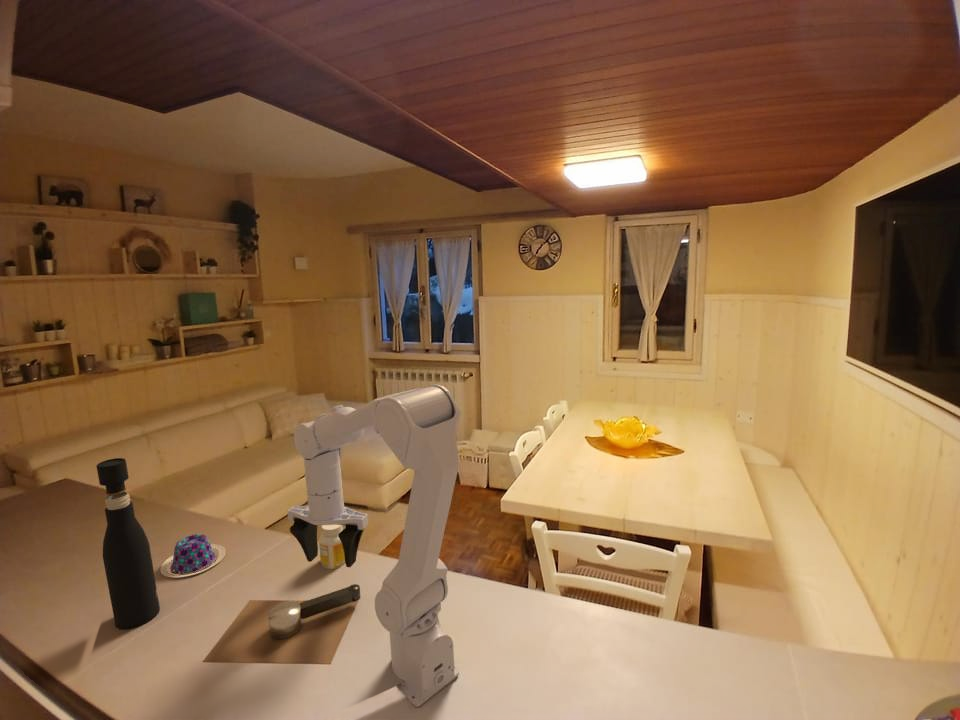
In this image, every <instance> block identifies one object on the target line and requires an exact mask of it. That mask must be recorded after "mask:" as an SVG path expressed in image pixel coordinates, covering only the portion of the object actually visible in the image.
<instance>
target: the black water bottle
mask: <svg viewBox="0 0 960 720" xmlns="http://www.w3.org/2000/svg"><path fill="white" fill-rule="evenodd" d="M96 471H97V478H98V482H99V485H100V486H102V487H103V486H104V487H105V491H106V492H105V494H106V497H105V500H104V503H105V509H104V513H105V520H106V525H107V526H106V529H105V533H104V537H103V542H102V560H103V561H102V562H103V565H104V571H105V576H106V581H107V587H108V593H109V598H110V605H111V609H112V615H113V619H114V620H113V621H114V625H115V628H116V629H118V630H121V631H128V630H134V629H137V628H140V627H142V626H144V625H147V624H149V623H150V622H151V621H152V620H153V619H155V618H156V617H157V616H158V615H159V614H160V609H161V607H160V603H159V602H160V601H159V596H158V588H157V583H156V577H155V571H154V567H153V566H154V565H153V558H152V553H151V547H150V546H151V545H150V542H149V540H148V537H147V535H146V532H145V530H144V528H143V526H142V525H141V524H140V522H139V521H138V519H137V518H136V517H135V515H136V514H135V510H134V504H133V501H131V498H130V497H131V496H130V494H129V492H128V491H127V488H126V485H125V481H127V480H129V472H128V466H127V460H126V458H123V457H116V458H110V459H106V460H103V461H100V462H99V463H97V464H96Z"/></svg>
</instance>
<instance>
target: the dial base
mask: <svg viewBox="0 0 960 720" xmlns="http://www.w3.org/2000/svg"><path fill="white" fill-rule="evenodd" d="M287 601H294V602H297V603H299V604H300V603H302V602H305V601H306V600H289V599H288V600H286V599H285V600H283V599H282V600H280V599H278V600H277V599H276V600H275V599H271V600H270V599H268V600H265V599H263V600H262V599H253V600H252V599H249V600H248V601H247V603H246V604H245V606H244V607H243V608H242V609H241V611H240V612H239V614H238V615H237V616H236V617H235V618H234V620H233V621H232V623H231V624H230V625H229V627H228V628H227V629H226V631H225V632H224V633H223V634H222V635H221V637H220V638H219V640H217V642H216V643H215V644H214V646H213V648H211V649H210V651H209V653H207V655H206V656H205V658H204V659H203V660H202V663H238V664H239V663H240V664H242V663H246V664H248V663H250V664H301V665H302V664H303V665H309V664H311V665H312V664H313V665H331V664H332V662H333V660H334V658H335V655H336V653H337V651H338V648H339V646H340V644H341V642H342V639H343V637H344V635H345V633H346V630H347V627H348V626H349V623H350V620H351V619H352V616H353V614H354V612H355V609H356V607H357V605H358V603H359V600H358V601H355V602H351V603H348V604H345V605H342V606H339V607H336V608H334V609H331V610H328V611H325V612H322V613H319V614H316V615H314V616H311V617H308V618H305V619H302V627H301V628H300V630H299V631H298V632H297V633H295V634H294V635H292V636H290V637H287V638H283V639H277V638H274V637H272V636H271V635H270V628H269V620H268V614H269V612H270V610H271V609H272V608H273V607H275V606H276V605H278V604H280V603H283V602H287Z"/></svg>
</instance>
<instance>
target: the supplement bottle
mask: <svg viewBox="0 0 960 720" xmlns="http://www.w3.org/2000/svg"><path fill="white" fill-rule="evenodd" d="M343 529H344V528H343V525H321V534H320V536H319V539H318V545H319V546H318V548H319V557H320V565H321V567H322V568H323V569H327V570H333V569H337V568H338V569H339V568H341V567H342V566H344V565H346V564H345V556H344V549H343V546H342V543H341V540H340V538H339V536H338V534H339V533H340V532H341V531H342V530H343Z"/></svg>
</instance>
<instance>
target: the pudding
mask: <svg viewBox="0 0 960 720" xmlns="http://www.w3.org/2000/svg"><path fill="white" fill-rule="evenodd" d="M213 548H214V549H215V548H216V549H218V551H219V557H218V559H217V560H216V562H215V563H213V562H212V561H214V560H215V559H216V558H215V557H216V556H215V555H216V553H215V552H214V551H213ZM225 555H226V549H225V547H224V546H223V545H220V544H215V543H210V541H209V539H208V537H207V536H206V535H205V534H198V533H196V534H192V535H187V536H185V537H183V538H182V539H180V540H178V541H177V542H176V543H175V547H174V551H173V555H171V556H169V557H168V558H166V560H165V561H164V562H163V563H162V564H161V566H160V569H159V570H160V573H161V574H162V575H163V576H165V577H168V578H184V577H189V576H194V575H197V574H200V573H203V572H205V571H208V570H209V569H211V568H212V567H214V566H216V565H217V564H218V563H220V562H221V561H222V560H223V558H224V557H225ZM213 559H214V560H213ZM171 560H173V563H172V567H171V570H177V571H176V572H180V573H183V572H186V573H188V572H187V571H190V572H189V573H192V571H195V572H196V570H198V569H199V568H201V567H203V568H205V567H204V566H206V565H208V566H209V564H210V563H213V564H212V565H211V566H210V567H208V568H206V569H204V570H202V571H199V570H200V569H199V570H198V571H199V572H196V573H192V574H188V575H180V576H175V575H173V574H170V573H168V571H166V570H167V568H166V567H167V565H168V564H169V562H171ZM211 560H212V561H211ZM206 567H207V566H206ZM201 569H202V568H201ZM183 574H184V573H183Z"/></svg>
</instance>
